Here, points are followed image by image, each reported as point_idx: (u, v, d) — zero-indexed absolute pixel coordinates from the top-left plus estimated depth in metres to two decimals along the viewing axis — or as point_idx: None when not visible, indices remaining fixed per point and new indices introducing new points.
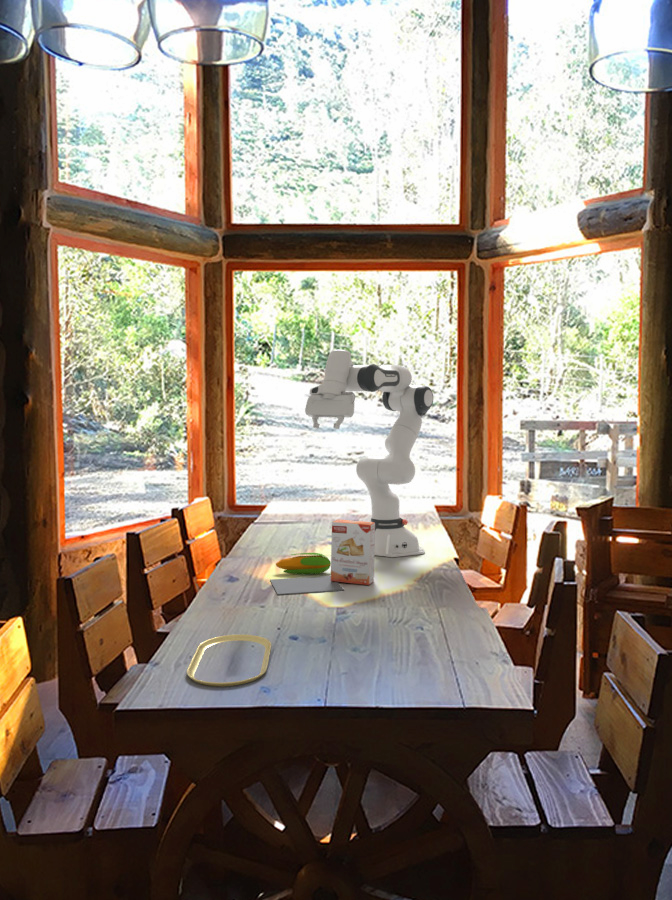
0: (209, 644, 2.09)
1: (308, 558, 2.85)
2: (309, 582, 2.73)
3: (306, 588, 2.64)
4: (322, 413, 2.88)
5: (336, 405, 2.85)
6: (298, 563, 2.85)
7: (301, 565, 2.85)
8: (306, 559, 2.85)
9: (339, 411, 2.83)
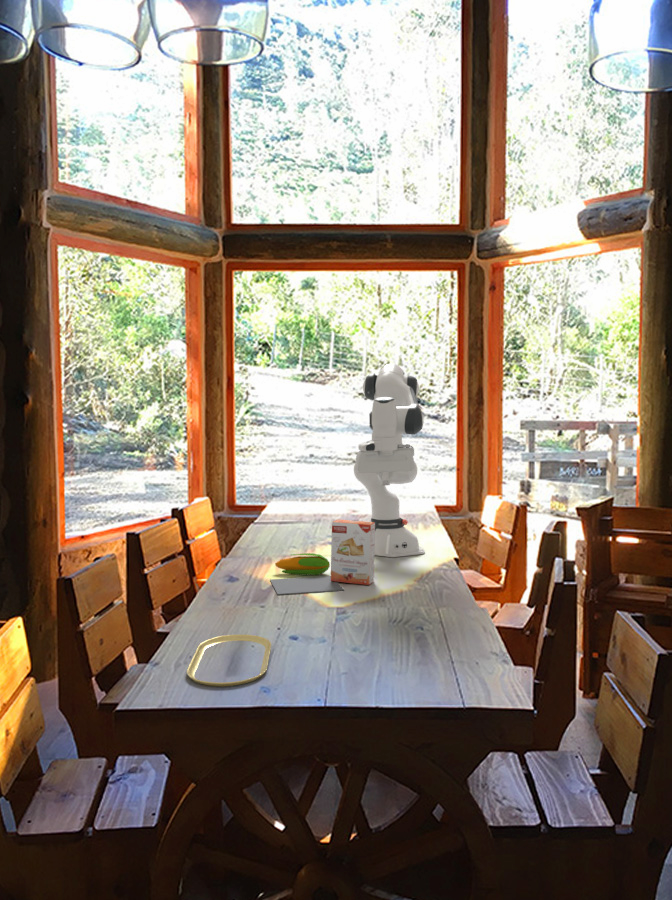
0: (209, 644, 2.09)
1: (306, 559, 2.84)
2: (309, 582, 2.73)
3: (306, 588, 2.64)
4: (382, 471, 2.71)
5: (398, 461, 2.71)
6: (296, 563, 2.85)
7: (299, 566, 2.84)
8: (304, 560, 2.84)
9: (404, 467, 2.72)
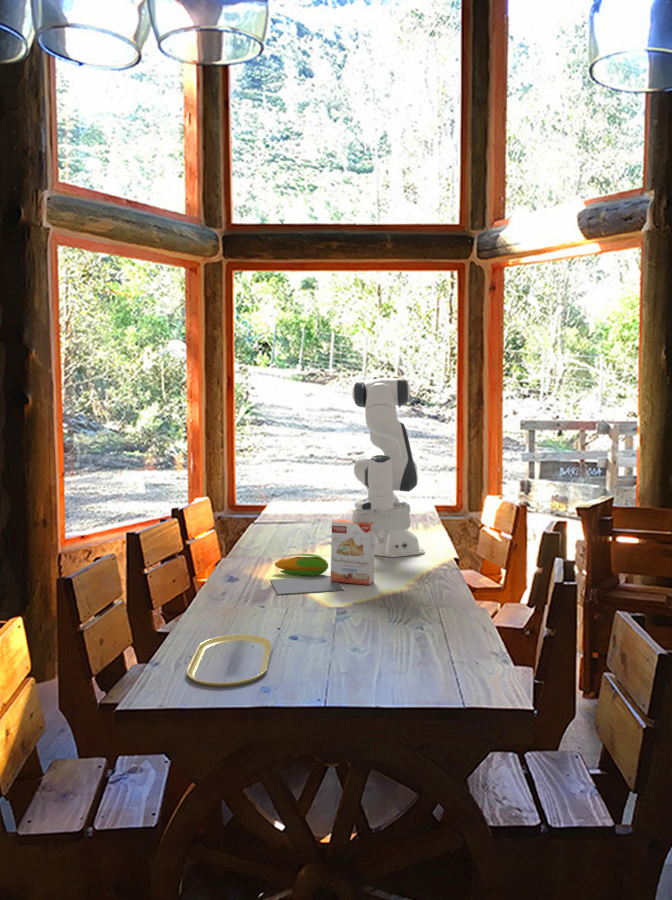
0: (209, 644, 2.09)
1: (304, 559, 2.83)
2: (309, 582, 2.73)
3: (306, 588, 2.64)
4: (378, 529, 2.72)
5: (394, 519, 2.73)
6: (294, 564, 2.84)
7: (297, 566, 2.84)
8: (302, 560, 2.83)
9: (400, 525, 2.73)
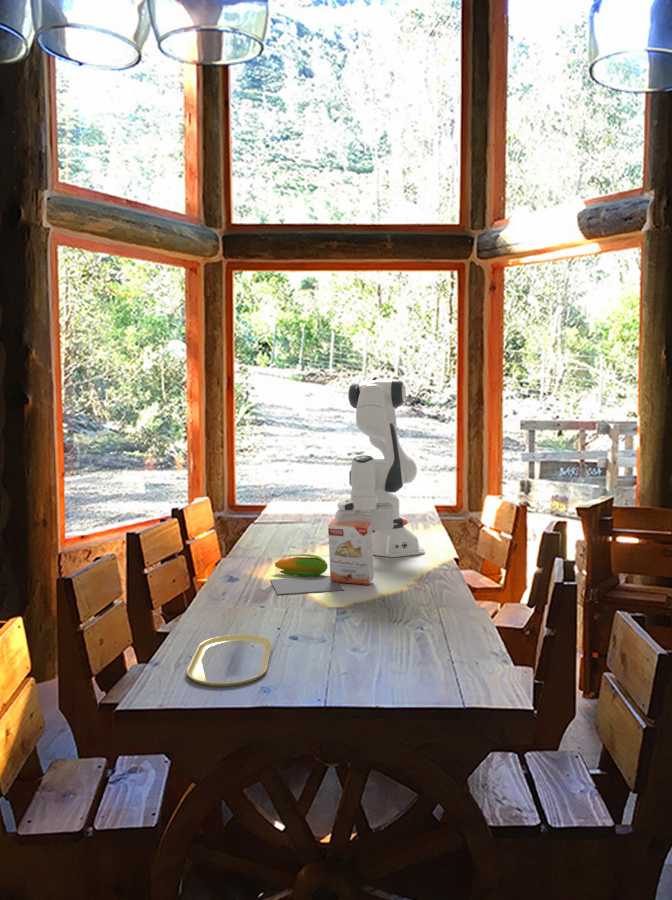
0: (209, 644, 2.09)
1: (303, 560, 2.82)
2: (309, 582, 2.73)
3: (306, 588, 2.64)
4: None
5: (377, 520, 2.71)
6: (293, 564, 2.84)
7: (296, 566, 2.83)
8: (301, 561, 2.82)
9: (383, 526, 2.72)
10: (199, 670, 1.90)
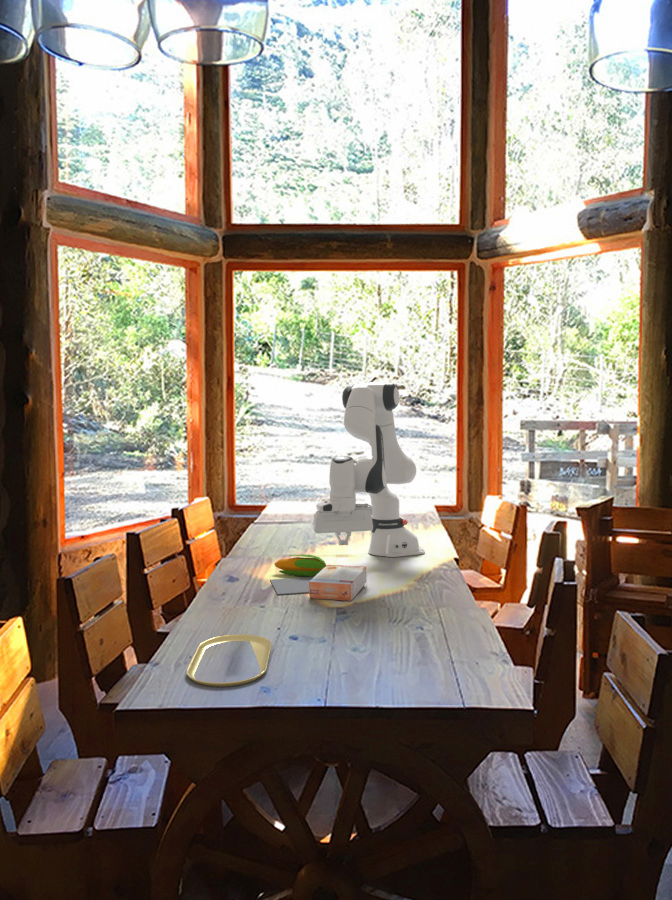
0: (209, 644, 2.09)
1: (302, 560, 2.82)
2: None
3: (306, 588, 2.64)
4: (339, 531, 2.69)
5: (356, 521, 2.70)
6: (293, 564, 2.84)
7: (295, 567, 2.83)
8: (300, 561, 2.82)
9: (362, 527, 2.70)
10: None
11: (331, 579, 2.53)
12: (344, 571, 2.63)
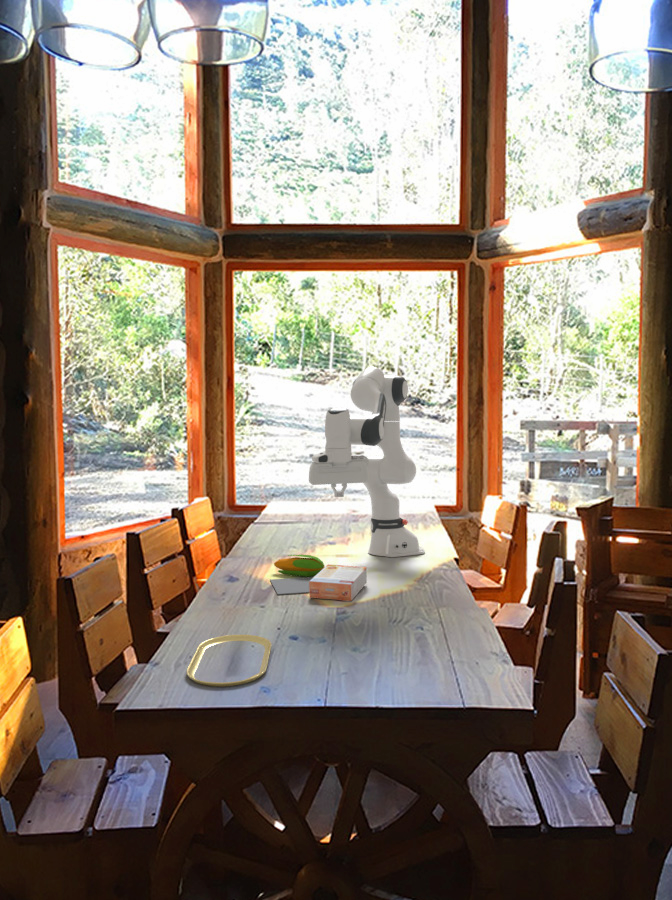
0: (209, 644, 2.09)
1: (300, 560, 2.82)
2: None
3: (306, 588, 2.64)
4: (335, 482, 2.68)
5: (352, 473, 2.68)
6: (291, 564, 2.84)
7: (294, 567, 2.83)
8: (298, 561, 2.82)
9: (358, 479, 2.69)
10: None
11: (331, 579, 2.53)
12: (345, 571, 2.63)
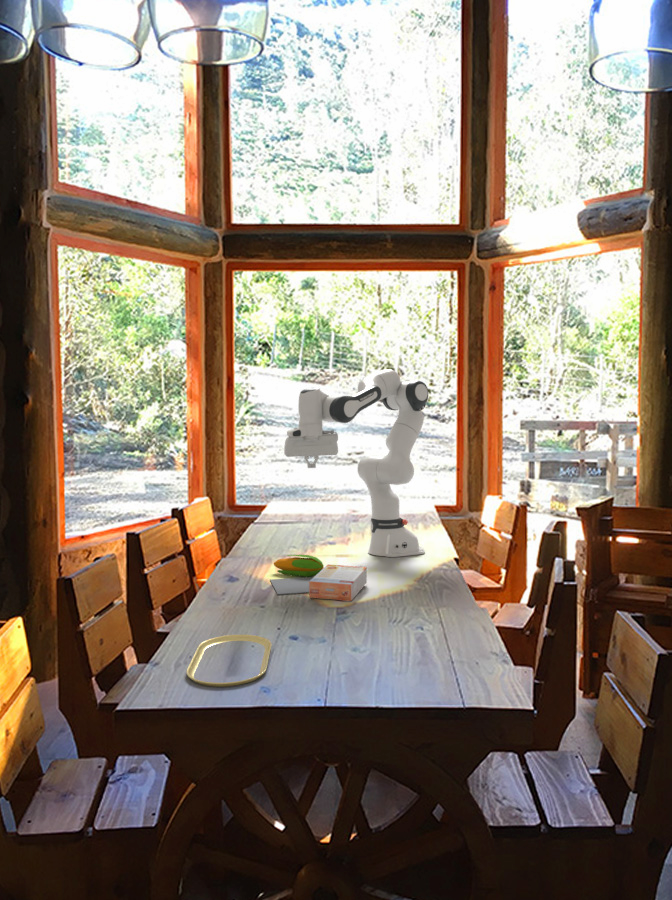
0: (209, 644, 2.09)
1: (299, 560, 2.82)
2: None
3: (306, 588, 2.64)
4: (308, 455, 2.98)
5: (323, 446, 2.99)
6: (290, 564, 2.84)
7: (293, 567, 2.83)
8: (297, 561, 2.82)
9: (328, 451, 2.99)
10: None
11: (331, 579, 2.53)
12: (345, 571, 2.63)
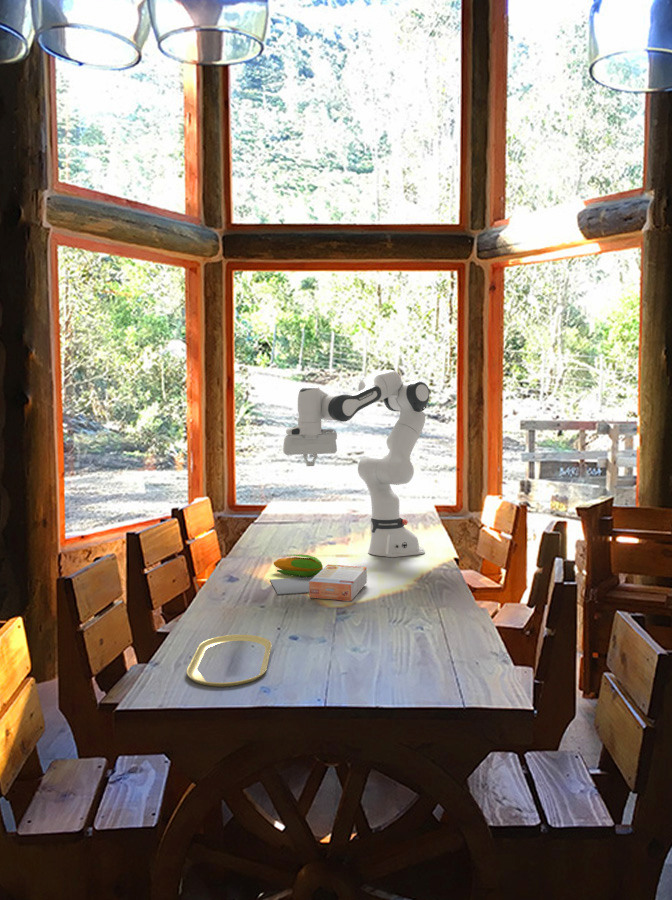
0: (209, 644, 2.09)
1: (298, 560, 2.82)
2: None
3: (306, 588, 2.64)
4: (307, 453, 2.99)
5: (322, 444, 3.00)
6: (289, 564, 2.84)
7: (292, 566, 2.83)
8: (296, 561, 2.82)
9: (327, 450, 3.01)
10: None
11: (331, 579, 2.53)
12: (345, 571, 2.63)
